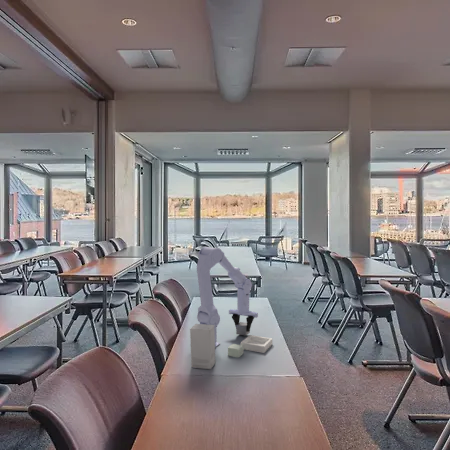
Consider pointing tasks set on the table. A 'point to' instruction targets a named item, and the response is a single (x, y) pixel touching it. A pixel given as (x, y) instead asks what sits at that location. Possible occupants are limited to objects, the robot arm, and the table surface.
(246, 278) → the robot arm
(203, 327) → the skincare box
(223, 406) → the table surface
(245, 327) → the metal block
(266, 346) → the box
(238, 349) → the pale green box
